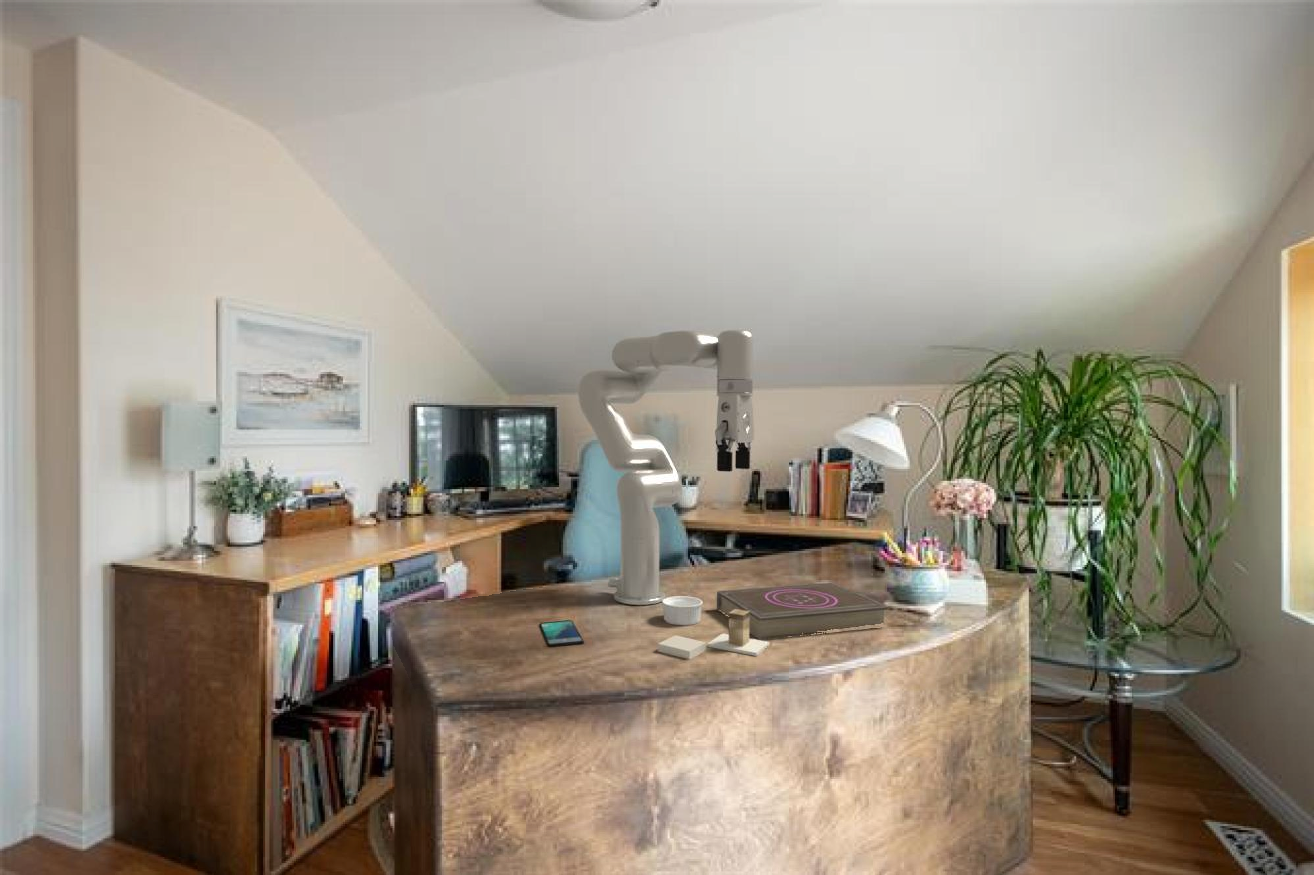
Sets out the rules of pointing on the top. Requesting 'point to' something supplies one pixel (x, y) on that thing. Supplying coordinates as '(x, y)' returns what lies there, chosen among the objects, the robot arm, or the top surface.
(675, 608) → the ramekin
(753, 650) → the mat
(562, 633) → the smartphone
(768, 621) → the book
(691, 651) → the tile
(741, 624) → the small cardboard box
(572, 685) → the top surface
